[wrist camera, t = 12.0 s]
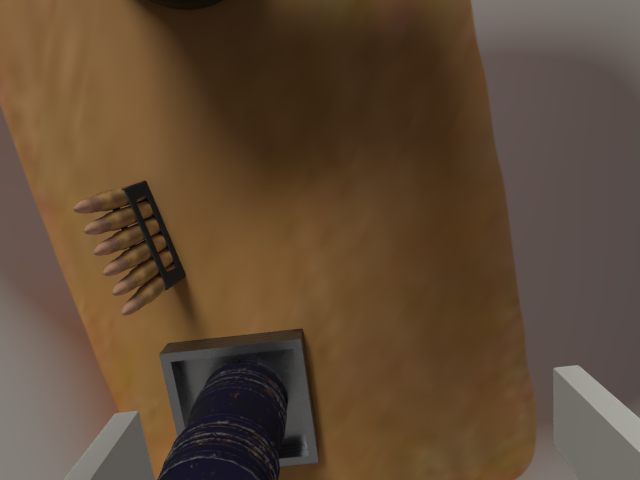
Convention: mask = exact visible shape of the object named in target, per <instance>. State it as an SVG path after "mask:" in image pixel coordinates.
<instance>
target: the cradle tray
mask: <svg viewBox="0 0 640 480" xmlns="http://www.w3.org/2000/svg"><path fill="white" fill-rule="evenodd" d="M159 355H160V359H161V364H162V368H163V373H164V377H165V382H166V386H167V391H168V395H169V400H170V404H171V409H172V413H173V418H174V422H175V427H176V431H177V436H179V435H180V434H181V433H182V431H183V430H184V429H185V428H186V427H187V423H188V418H189V414H190V411H191V408H192V406H193V405H194V403H195V401H196V399H197V397H198V395H199V393H200V391H201V390H202V389H203V387H204V385H205V383H206V381H207V380H208V378H209V377H210V375H211V374H212V373H213V372H214V371H215V370H216V369H218V368H219V367H221V366H223V365H225V364H227V363H230V362H234V361H252V362H257V363H260V364H262V365H264V366H266V367H268V368H270V369H271V370H272V371H274V372H275V373H276V374H277V375H278V376H279V378H280V379H281V380H282V382H283V384H284V386H285V388H286V391H287V396H288V406H287V421H286V429H285V436H284V439H283V442H282V445H281V447H280V449H279V451H278V454H279V463H280V467H281V466H291V465H301V464H311V463H319V445H318V437H317V430H316V423H315V416H314V409H313V402H312V395H311V388H310V381H309V374H308V367H307V360H306V353H305V346H304V339H303V332H302V329H295V330H286V331H277V332H268V333H259V334H250V335H241V336H232V337H223V338H213V339H204V340H195V341H186V342H177V343H168V344H167V345H166V347H165V348H164V349H163V350H162V352H161V353H160V354H159Z"/></svg>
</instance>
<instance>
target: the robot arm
mask: <svg viewBox="0 0 640 480" xmlns="http://www.w3.org/2000/svg"><path fill="white" fill-rule="evenodd" d="M151 1H153V2H155V3H158V4H160V5H163V6H166V7H171V8H176V9H198V8H203V7H207V6H210V5H213V4H215V3H217V2H220V1H221V0H151ZM553 412H554V413H553V415H554V416H553V418H554V419H553V421H554V422H553V423H554V425H553V427H554V446H555V447H556V449H557V450H558V451H559V453H560V454H561V455H562V456H563V458H564V459H565V461H566V462H567V463H568V464H569V466H570V467H571V469H572V470H573V471H574V473H575V474H576V475H577V477H578V478H579V479H580V480H640V419H639V418H638V417H637V416H636V415H635V414H634V413H633V412H631V411H630V410H629V409H628V408H627V407H626V406H625V405H623V404H622V403H621V402H620V401H619V400H618V399H616V398H615V397H614V396H613V395H612V394H611V393H610V392H609V391H607V390H606V389H605V388H604V387H603V386H602V385H600V384H599V383H598V382H597V381H596V380H595V379H594V378H592V377H591V376H590V375H589V374H588V373H587V372H585V371H584V370H583V369H582V368H581V367H580V366H579V365H575V366H565V367H556V368H553ZM64 480H155V478H154V473H153V469H152V465H151V461H150V457H149V453H148V448H147V444H146V440H145V436H144V432H143V428H142V424H141V419H140V415H139V411H133V412H123V413H115V414H114V416H113V417H112V418H111V419H110V421H109V422H108V423H107V424H106V426H105V427H104V428H103V430H102V431H101V432H100V433H99V435H98V436H97V437H96V439H95V440H94V441H93V442H92V444H91V445H90V446H89V447H88V449H87V450H86V452H85V453H84V454H83V455H82V457H81V458H80V459H79V460H78V462H77V463H76V464H75V465H74V467H73V468H72V469H71V471H70V472H69V473H68V474H67V476H66V477H65V478H64Z"/></svg>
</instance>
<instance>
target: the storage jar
mask: <svg viewBox="0 0 640 480" xmlns="http://www.w3.org/2000/svg"><path fill="white" fill-rule="evenodd" d="M287 406H288V396H287V391H286V388H285V386H284V384H283V382H282V380H281V379H280V378H279V376H278V375H277V374H276V373H275V372H274V371H272V370H271V369H270V368H268V367H266V366H264V365H262V364H260V363H257V362H252V361H234V362H230V363H227V364H225V365H223V366H221V367H219V368H218V369H216V370H215V371H214V372H213V373H212V374H211V375H210V377H209V378H208V380H207V381H206V383H205V385H204V387H203V389H202V390H201V391H200V393H199V395H198V397H197V399H196V401H195V403H194V405H193V406H192V408H191V411H190V414H189V418H188V423H187V427H186V428H185V429H184V430H183V431H182V433H181V434H180V435H179V436H178V437H177V439H176V440H175V442H174V444H173V446H172V449H171V451H170V452H169V454H168V456H167V458H166V460H165V462H164V465H163V468H162V471H161V473H160V476H159V477H158V479H157V480H278V477H279V472H280V463H279V454H278V451H279V449H280V447H281V445H282V442H283V439H284V436H285V429H286V421H287Z"/></svg>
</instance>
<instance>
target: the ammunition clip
mask: <svg viewBox="0 0 640 480" xmlns="http://www.w3.org/2000/svg"><path fill="white" fill-rule="evenodd" d="M126 205H130V206H128V207H125V208H121V209H120V207H123V206H126ZM73 210H74V211H75V212H78V213H93V212H98V211H109V210H113V211H112V212H109V213H108V214H106V215H105V216H103V217H101V218H99V219H97V220H94V221H93V222H91V223H89V224H88V225H87V226H86V227H85V229H84V233H86V234H90V235H95V234H101V233H104V232H108V231H115V230H119V229H122V230H121V231H119V232H117V233H115V234H114V235H113V236H112V237H110V238H108V239H107V240H105V241H103V242H102V243H100V244H99V245H98V246H97V247H96V248H95V250H94V254H95V255H99V256H101V255H108V254H111V253H113V252H116V251H119V250H123V249H127V248H129V247H130V249H128V250H126V251H124V252H123V253H122V254H121V255H120V256H119V257H117V258H116V259H115V260H113V261H111V262H110V263H109V264H108V265H107V266H106V268H105V269H104V271H103V274H104V275H106V276H110V275H116V274H118V273H121V272H122V271H125V270H127V269H129V268H133V267H135V266H137V265H138V266H137V267H135V268H134V269H132V270H131V271H130V273H129V274H128V275H127V276H125V277H124V278H123V279H122V280H121V281H120V282H119V283H118V284H117V285H116V286H115V288H114V289H113V295H116V296H118V295H122V294H125V293H127V292H129V291H131V290H132V289H134V288H136V287H138V286H141V285H143V284H144V285H143V286H141V287H140V288H139V289H138V290H137V292H136V293H135V294H134V295H133V296H132V297H131V298H130V299H129V300H128V301H127V302H126V304H125V305H124V307H123V309H122V315H129V314H132V313H134V312H136V311H137V310H139V309H140V308H141V307H143V306H144V305H146V304H148V303H150V302H152V301H153V300H154V299H155V298H156V297H158V296H159V295H160V294H161V293H162V292H163V291H164V290H168V289H169V288H170V287H172V286H173V285H174V284H176V283H177V282H178V281H180V280H181V279H182V278H184V277H185V272H184V269H183V267H182V265H181V262H180V260H179V257H178V255H177V253H176V250H175V248H174V246H173V243H172V241H171V239H170V236H169V234H168V231H167V229H166V227H165V224H164V222H163V220H162V217H161V215H160V213H159V210H158V208H157V205H156V203H155V201H154V198H153V196H152V194H151V191H150V189H149V187H148V184H147V182H146V181H143V182H140V183H137V184H134V185H131V186H128V187H124V188H119V189H115V190H111V191H106V192H102V193H99V194H97V195H96V196H93V197H91V198H87V199H85V200H82V201H81V202H79V203H78V204H76V205H75V207H74V208H73ZM136 222H138V223H137V224H135V225H132V226H130V227H127V226H129V225H131V224H134V223H136ZM144 239H145V240H144ZM142 240H144V241H142ZM141 241H142V242H141ZM139 242H141V243H139ZM137 243H139V244H137ZM135 244H137V245H135ZM151 256H152V257H151ZM148 258H149V259H148ZM146 259H147V260H146ZM145 260H146V261H145ZM143 261H144V262H143Z"/></svg>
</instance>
